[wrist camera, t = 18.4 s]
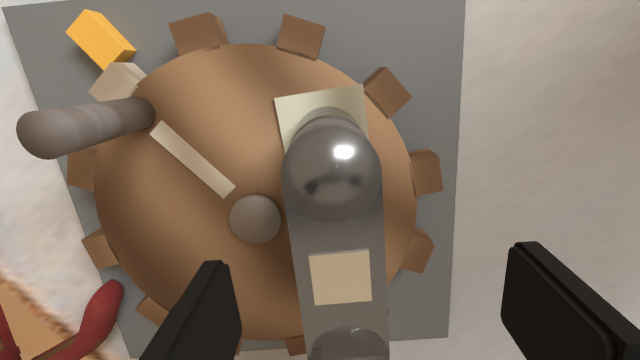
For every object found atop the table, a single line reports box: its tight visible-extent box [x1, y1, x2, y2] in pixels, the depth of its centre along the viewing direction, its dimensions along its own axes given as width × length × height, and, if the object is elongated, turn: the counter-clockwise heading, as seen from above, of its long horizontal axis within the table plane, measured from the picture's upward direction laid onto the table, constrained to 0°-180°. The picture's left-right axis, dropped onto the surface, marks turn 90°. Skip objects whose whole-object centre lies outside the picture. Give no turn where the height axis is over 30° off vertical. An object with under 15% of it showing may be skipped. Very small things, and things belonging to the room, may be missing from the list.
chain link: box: [281, 106, 389, 360], centre depth 15 cm, size 3×11×6 cm, turn 6°
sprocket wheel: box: [16, 12, 444, 356], centre depth 16 cm, size 21×21×8 cm
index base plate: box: [1, 0, 466, 358], centre depth 20 cm, size 24×24×2 cm
